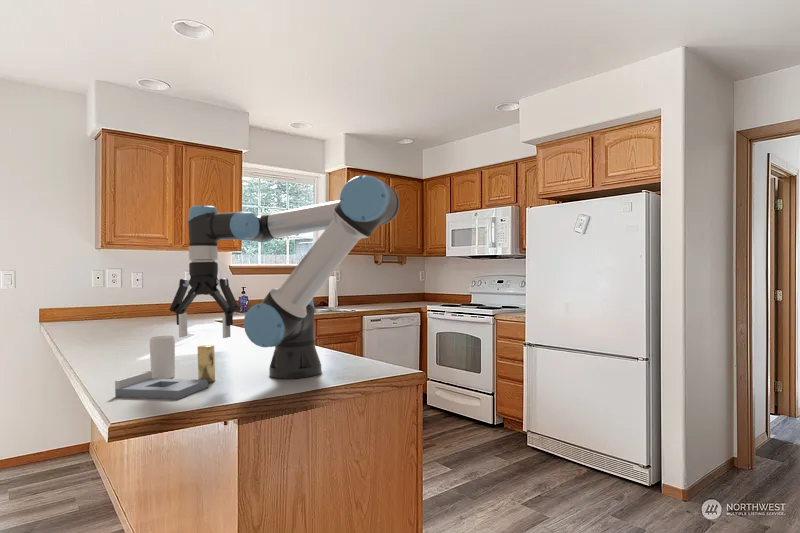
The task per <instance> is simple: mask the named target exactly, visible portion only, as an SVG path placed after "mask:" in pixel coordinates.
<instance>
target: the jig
mask: <svg viewBox="0 0 800 533" xmlns="http://www.w3.org/2000/svg"><path fill="white" fill-rule="evenodd" d="M114 388H115V397H116V398H136V399H137V398H142V399H144V398H145V399H169V400H171V399H172V400H173V399H174V400H180V399H182V398H184V397H187V396H189V395H190V396H191V395H192V394H194V392H195V393H196V392H199V391H202V390H204V389H206V388H208V383H207V380H198V379H192V378H189V379H187V378H170V379H156V378H152V371H151V370H147V371H143V372H141V373H136V374H134V375H130V376H127V377H124V378H121V379H117V380H115V381H114Z"/></svg>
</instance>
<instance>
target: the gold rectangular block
mask: <svg viewBox="0 0 800 533" xmlns="http://www.w3.org/2000/svg"><path fill="white" fill-rule="evenodd" d="M215 356H216V355H215V344H214V345H213V344H206V345H204V344H203V345H198V346H197V376H198V377H197V378H198V379H197V380H207V384H212V383H215V382H216V365H215V364H216V363H215V361H216V360H215Z"/></svg>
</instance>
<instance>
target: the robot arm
mask: <svg viewBox="0 0 800 533" xmlns="http://www.w3.org/2000/svg"><path fill="white" fill-rule="evenodd" d="M399 209H400V199H399V195H398V193H397V192H396V190H395V189H394V188H393V187H392V186H390V185H389V184H387V183H386V182H384V181H383V180H382V179H379V178H378V177H375V176H371V175H358V176H355V177H353V178H350V179H349V180H348V181H347V182H346V183H345V184H344V185H343V187H342V189H341V191H340V195H339V200H334V201H328V202H325V203H319V204H314V205H308V206H302V207H299V208H297V207H296V208H293V209H287V210H283V211H277V212H271V213H267V214H261V215H256V214H255V213H254V212H252V211H242V210H241V211H236V212H235V211H234V212H233V211H231V212H218V209H217V207H215V206H213V205H192V206H191V207H190V208H189V210H188V221H187V224H188V242H189V243H188V260H189V261H190V262H189V263H188V270H189V271H188V272H189V273H188V275H190V279H188V278H180V279H179V283H178V284H179V285H178V289H177V291H176V293H175V295H174V297H173V300H172V302H171V304H170V307H169V311H170V312H174V313H175V314H176V325H177V326H178V337H179V338H184V337H185V338H186V337H187V336H188V313H187V312H186V311H187V309H188V308H189V306H190V305H191V304H192V302H193V301H194V300H195V298H196V297H197V296H200V295H203V296H204V295H205V296H207V295H209V296H210V297H212V298H213V300H214V301H215V303H216V304H217V305H218V306H219V307H220V308H221V310H222V312H224V313H223V314H222V320H221V321H222V339H226V338H227V339H228V338H231V326H233V323H234V319H233V318H234V315H233V314H235V313H237V312H239V311H240V306H239V305H238V302H237V300H236V298H235V296H234V294H233V293H232V289H231V288H230V284H229V279H228V278H227V277H226V278H225V277H224V278H220V279H218V274H219V265H218V262H217V260H218V258H219V256H218V241H224V240H228V241H229V240H233V241H234V240H237V241H252V242H257V243H266V242H270V241H271V240H274V239H278V238H279V239H280V238H285V237H291V236H295V235H296V236H297V235H301V234H308V233H313V232H318V231H323V232H322V233H321V235H320V236H319V237H318V238H317V240H316V241H315V242H314V244H313V245H312V246H311V248H310V249H309V250H308V251H307V252H306V254H305V255H304V256H303V258H301V260H300V262H299V263H298V264H297V266H296V267H295V268H294V269H293V271H292V272H291V273H290V274H289V276H288V277H287V279H286V280H285V281H284V282H283V283H282V284H281V286H280V287H274V288H272V289H270V290H269V292H268V293H267V295H266V296H265V297H264V298H263V299H262V301H261V302H260V303H256V304H254V305H253V306H251V307H249V309H248V310H247V311H246V313H245V315H244V318H243V326H244V333H245V335H246V336H247V338H248V339H249V341H250V342H251V343H253V344H254V345H256V346H258V347H260V348H273V347H274V350H273V354H272V358H271V361H270V364H269V372H268V373H269V376H270V377H272V378H275V379H302V378H308V377H314V376H317V375H319V374H321V373H322V364H321V363H322V362H321V360H320V358H319V355H318V352H317V349H316V344H315V343H316V340H315V338H316V335H315V310H316V309H315V305H314V304H315V303H314V298H315V296H316V295H317V294H318V293H319V291H320V290H321V289H322V288H323V286H324V285H325V284H326V282H327V281H328V280H329V279H330V277H331V276H332V275H333V274H334V272H335V271H336V270H337V268H338V267H339V266H340V265H341V263H342V262H343V261H344V260H345V258H346V257H347V256H348V255H349V253H350V252H352V250H353V249H354V247H355V246H356V245H357V244H358V242H359V241H360V240H361V239H367V238H370V236H371V235H372V234H373V233H374V232H375V230H376V229H377V228H378V226H382V225H386V224H389V223H391V221H393V220H394V219H395V218H396V216H397V215H398V213H399ZM189 286H190V287H191V288H190V289H189V290H188V288H189ZM218 286H219V288H220V290H221V291H220V290H219V289H218ZM187 290H188V292H187ZM186 293H187V294H186ZM221 293H222V294H223V295H222V294H221Z"/></svg>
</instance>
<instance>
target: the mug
mask: <svg viewBox="0 0 800 533" xmlns="http://www.w3.org/2000/svg"><path fill="white" fill-rule="evenodd" d="M175 340H176V339H175V335H157V336H152V337H151V336H150V337H149V357H150V371H152V378H156V379H174V378H175V377H176V371H175V370H176V364H175V363H176V360H175V359H176V353H175V352H176V350H175V349H176V348H175V347H176V341H175Z"/></svg>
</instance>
